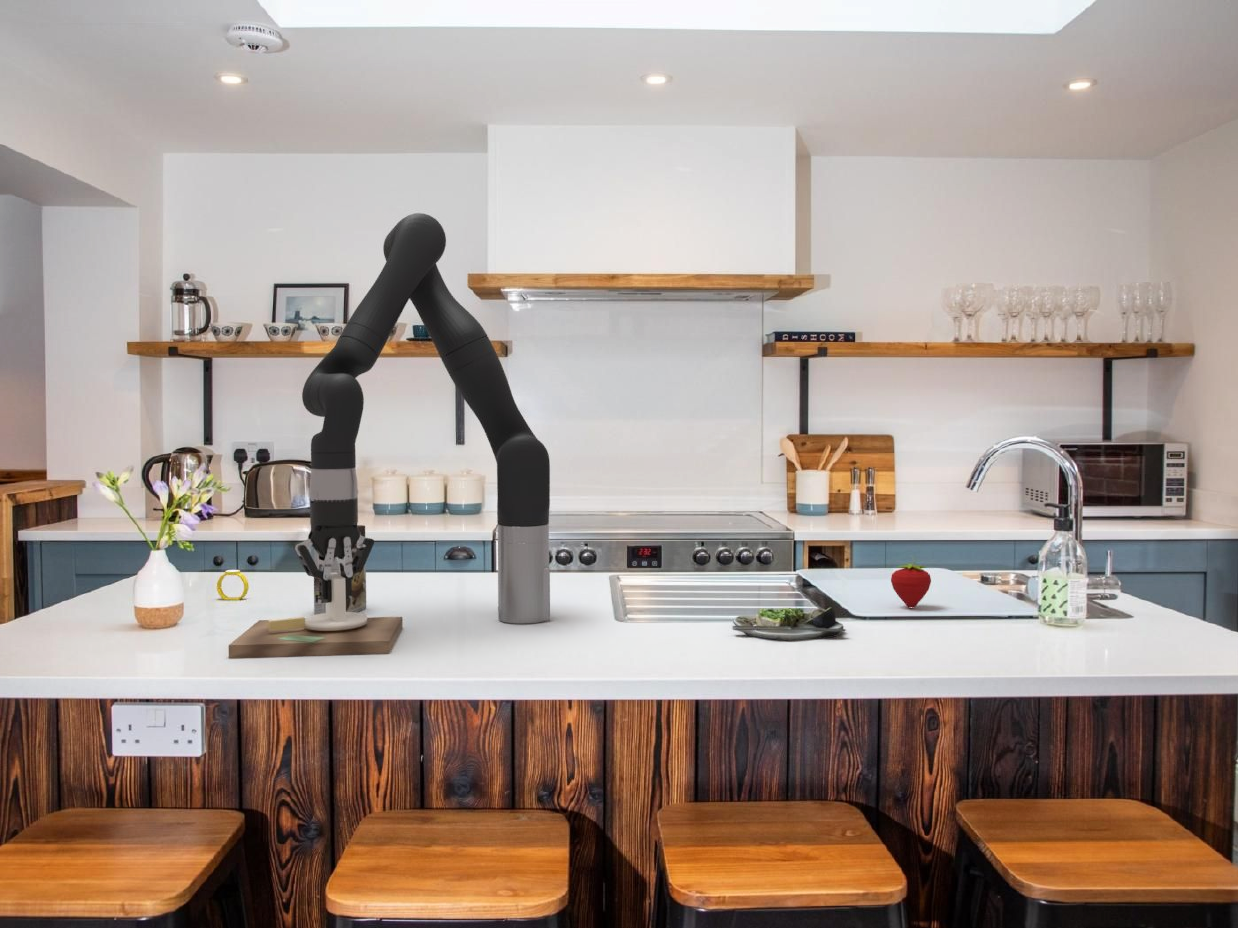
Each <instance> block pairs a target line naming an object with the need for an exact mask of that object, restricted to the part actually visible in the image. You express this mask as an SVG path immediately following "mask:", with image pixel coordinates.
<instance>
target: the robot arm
mask: <svg viewBox="0 0 1238 928" xmlns="http://www.w3.org/2000/svg"><path fill="white" fill-rule="evenodd" d="M446 237H447V236H446V232H445V230H444V228H443V226H442V224H441V223H440V222H439V221H438V220H437V219H436V218H435V217H433V216H431V215H430V214H426V213H421V212H417V213H411V214H409V215H407V216H405V217H403V218H402V219H400V220H399V221H398V222H397V223H396V225H395V226H394V227H393V228H392V229H391V230H390V232H389V233H388V234H387V235H386V237H385V239H384V242H383V245H382V246H383V247H382V249H383V255H384V259H385V264H384V266H383V267H382V269H381V271H380V272H379V274H378V277H377V278H376V280H375V281H374V283H373V285H372V286H371V287H370V289H369V290H368V292H367V293H366V294H365V296H364V297H363V299H362V300H361V301H360V302H359V304H358V305H357V307H356V308H355V309H354V312H353V313H352V315H351V316H350V318H349V319H348V321H347V323H346V325H345V326H344V328H343V330H342V332H341V333H340V335H339V337H338V339H337V340H336V343H335V345H334V347H332V349H331V350H329V352H328V353H327V354H326V355H325V356H324V357H323V358H322V359H321V360H320V361H319V363H318V364H317V365H316V366H315V368H314V369H313V370H312V371H311V373H310V374H309V375H308V377H307V378H306V381H305V382H304V385H303V389H302V391H301V392H302V393H301V395H302V396H301V399H302V404H303V406H304V408H305V409H306V411H307V412H309V413H310V414H312V415H313V416H317V417H321V418H323V424H322V429H321V430H320V432H318V433H316V434H314V435H313V436H312V437H311V440H310V441H311V442H310V478H309V516H310V518H309V524H310V531H309V534H308V535H307V539H306V540H303V541H302V542H300V543H295V544H294V545H293V550H294V553H295V554H296V556H297V558H298V560H299V562H300V564H301V566H302V568H303V569H304V571H305V573H306V575H307V576H309V577H313V578H314V577H315V578H318V580H319V597H320V599H322V601H323V602H326V603H329V602H331V601H332V585H331V580H329V579H330V575H331V566H332V565H333V559H334V558H335V557H336V560H337V562H338V565H339V572H340V575H341V576H342V577H344V578H345V589H346V600H349V596H351V594H352V576H353V575H354V574H356V573H358V572H361V571H362V570H363V568H364V565H365V563H366V564H367V561H368V559H369V556H370V554H371V551H372V549H373V547H374V544H375V540H374V539H373V538H368V537H366V536H365V537H364V536H361V535H360V532H359V530H358V528H357V525H358V523H359V510H358V509H359V505H358V504H359V503H358V495H359V489H358V477H357V469H356V466H357V463H356V461H357V460H356V441H357V438H358V434H359V431H360V425H361V421H362V417H363V413H364V412H363V411H364V403H365V402H364V401H365V400H364V399H365V398H364V391H363V389H362V386H361V384H360V383H359V381H358V379H357V378H358V377H359V376H360V375H362V374H365V373H368V372H369V371H370V370H372V368H373V367H374V365H375V364H376V363H377V361H378V359H379V357H380V355H381V353H382V351H383V349H384V347H385V346H386V344H387V342H388V340H389V337H390V336H391V334H392V332H393V330H394V328H395V326H396V324H397V322H398V320H399V319H400V317H401V315H402V313H403V311H404V309H405V307H406V305H407V303H408V301H411V303H412V305H413V306H414V308H415V309H416V312H417V314H418V315H419V318H420V320H421V322H422V323H423V325H424V328H425V330H426V331H427V334H428V336H429V337H430V339H431V341H432V343H433V345H434V347H435V349H436V351H437V353H438V355H439V357H440V359H441V361H442V364H443V366H444V368H445V369H446V371H447V373H448V375H449V376H450V379H451V380H452V382H453V384H454V386H455V387H456V389H457V390H458V392H459V393H460V395H461V397H462V398H463V399H464V401H465V403H466V404H467V405H468V406H469V408H470V409H471V411H472V413H473V414H474V415H475V416H476V418H477V420H478V421H479V423H480V425H481V428H483V431H484V433H485V436H486V438H487V440H488V443H489V445H490V447H491V450H492V451H491V452H492V453H493V456H494V459H495V461H496V483H497V485H496V486H497V488H496V489H497V491H496V493H497V494H496V496H497V500H496V501H497V504H496V509H497V510H496V511H497V512H496V514H497V515H496V516H497V520H496V522H497V598H498V599H497V610H498V612H497V614H498V615H497V616H498V617H497V618H498V620H499V621H500V622H504V623H508V624H534V623H541V622H550V621H551V594H550V593H551V577H550V576H551V572H550V571H551V568H550V525H549V523H550V508H551V507H550V506H551V505H550V504H551V502H550V501H551V499H550V498H551V495H550V493H551V485H550V484H551V483H550V482H551V479H550V478H551V469H550V468H551V465H550V455H549V452H548V449H547V447H546V446H545V445H544V443H542V442H541V441H540V440H539V439H538V437H536V435H535V433H534V432H533V430H532V428H530V426H529V424H528V422H527V421H526V420H525V418H524V416H523V415H522V413H521V412H520V410H519V408H518V406H517V403H516V402H515V399H514V396H513V394H512V389H511V387H510V384H509V381H508V378H507V376H506V373H505V370H504V368H503V365H502V362H501V361H500V358H499V356H498V353H497V352H496V350H495V348H494V345H493V344H492V342H491V340H490V338H489V336H488V334H487V332H486V330H485V329H484V327H483V326H482V325H481V323H480V322H479V321H478V320H477V319H476V318H475V316H473V314H471V313H470V312H469V311H468V310H467V309H466V308H465V307H464V306H463V305H461V303H459V301H458V300H457V299H456V298H455V297H454V295H452V293H451V291H450V290H449V288H448V287H447V284H446V283H445V280H444V278H443V277H442V274H441V272H440V270H439V268H438V265H437V263H438V262H439V261H440V260H441V258H442V256H443V255H444V253H445V249H446V247H447V246H446V245H447V238H446ZM356 543H357V551H356V553H355V555H354V557H353V560H352V552H351V551H352V549H353V547H354V546H355V544H356ZM312 547H314V549H315V550H316V551H317V553H318V556H317V564H318V568H317V566H316V564H315V562H314V558H313V556H312V551H313V550H312Z"/></svg>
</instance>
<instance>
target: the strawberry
mask: <svg viewBox="0 0 1238 928" xmlns="http://www.w3.org/2000/svg"><path fill="white" fill-rule="evenodd" d="M910 557H911V558H912V560H913V564H912V563H908V564H906V565H896V566H897V568H901V569H897V570H895V571H894V572H893V573H891V578H890V582H891V586H892V589H893V591H894V592H895V593H896V594H897V596H898V597H899V598H900V600H902V602H904V604H905V606H906V607H907V608H909V607H914V608H916V607H917V605H918V604H919V603H920V601H921V600H922V599H923V598H924V597H925V596H926V594H927V593H928V591H929V589H930V587H931V583H932V578H931V575H930V573H928V571H926V570H925V569H923V568H927V566H924V565H915V564H916V561H915V559H914V557H913V556H912V555H910Z"/></svg>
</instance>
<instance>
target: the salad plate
mask: <svg viewBox="0 0 1238 928" xmlns="http://www.w3.org/2000/svg"><path fill="white" fill-rule="evenodd" d="M836 619H837V618H836V612H835V610H834V607H832V606H830V607H828V608H827V609H825V610H823V609H820V608H819V609H815V610H813V611H812V612H810V611H803V609H802V608H797V607H795V608H791V607H783V608H778V609H774V608H768V609H766V608H761V609H760V610H759V611H758V613H755V614H742V615H739V616H737V617H735V618H734V620H733V621H732V623H733V624H734V625H733V626H732V630H733V631H737V632H742V633H745V634H747V635H748V636H751V637H755V638H763V639H767V640H780V641H799V640H814V639H825V638H826V639H827V638H833V637H836V636H839V635H840V634H841V633H842V632H845V631H846V629H844V625H843V623H840V622H839V621H837V620H836Z"/></svg>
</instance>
